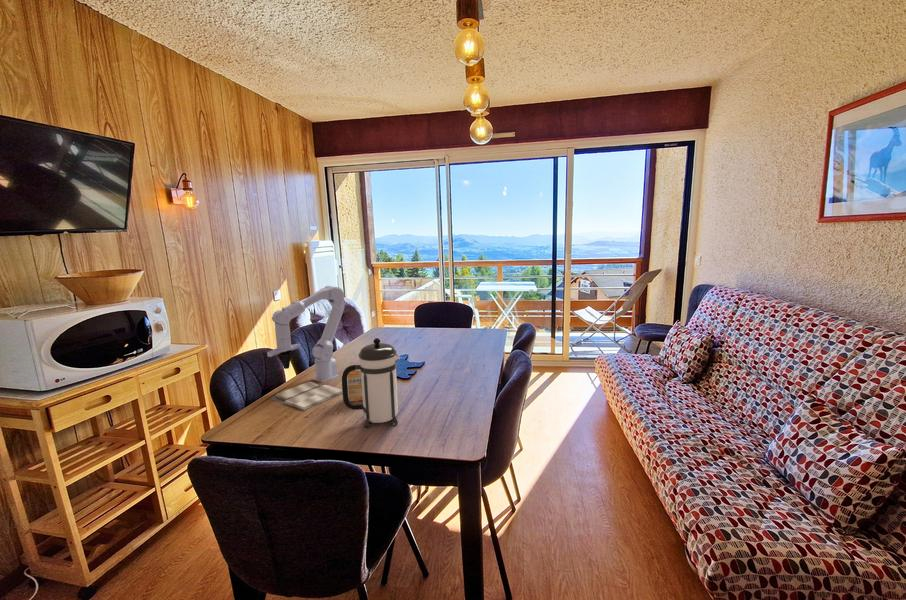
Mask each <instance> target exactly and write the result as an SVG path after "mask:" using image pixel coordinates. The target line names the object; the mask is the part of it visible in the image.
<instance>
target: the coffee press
mask: <svg viewBox="0 0 906 600" xmlns="http://www.w3.org/2000/svg"><path fill="white" fill-rule="evenodd" d="M358 358H359V364H352V365H348V366H347V367H345V368H344V371H343V372H342V376H341V389H342V392H343V394H342V399H343V401H342V402H343V403H344V405H345V407H347V409H349V410H354V411H355V410H357V411H359V410H362V411H363V417H364V419H365V422H364V425H363V428H365V429H369V428H370V427H371V425H372V424H381V423H386V422H390V423H391V424H392V426H396V425H398V423H399V421H398V420H397V416H398V414H399V402H398V386H397V384H398V383H397V382H398V381H397V360H401V356H400V354H398V353H397V350H396V349H395V348H394V346H392V345H391V344H389V343H383V342H381V339H380V338H376V337H375V338H374V340H373V343H371V344H367V345H365V346H364V347H362V348H361V349H360V351H359V353H358ZM359 369H360V371H361V381H362V396H363V400H362V403H359V404H354V403H352V402H350V401H349V395H348V378H347V375H348V374H349V372H351V371H354V370H359Z"/></svg>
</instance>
